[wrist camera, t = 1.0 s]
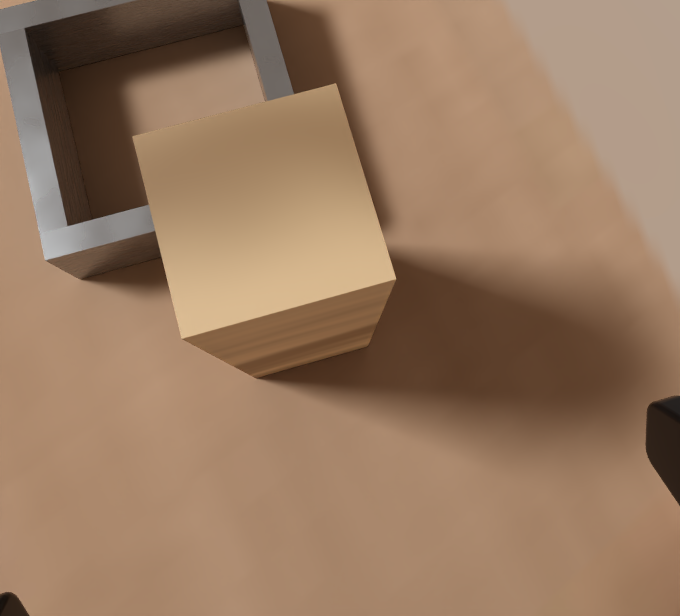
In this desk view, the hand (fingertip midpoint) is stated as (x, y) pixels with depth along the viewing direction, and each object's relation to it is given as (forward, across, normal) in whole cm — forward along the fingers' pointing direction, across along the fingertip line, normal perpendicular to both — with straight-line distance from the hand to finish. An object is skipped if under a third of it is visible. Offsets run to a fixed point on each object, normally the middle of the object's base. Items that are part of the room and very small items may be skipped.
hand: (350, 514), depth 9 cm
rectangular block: (+16, 0, +4) cm, 17 cm away
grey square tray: (+21, +3, -2) cm, 21 cm away
